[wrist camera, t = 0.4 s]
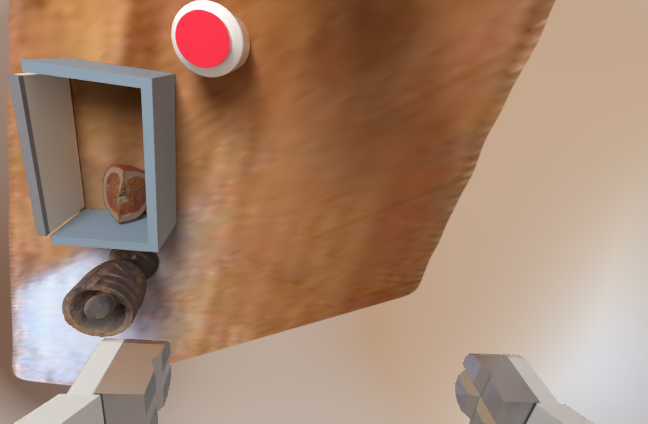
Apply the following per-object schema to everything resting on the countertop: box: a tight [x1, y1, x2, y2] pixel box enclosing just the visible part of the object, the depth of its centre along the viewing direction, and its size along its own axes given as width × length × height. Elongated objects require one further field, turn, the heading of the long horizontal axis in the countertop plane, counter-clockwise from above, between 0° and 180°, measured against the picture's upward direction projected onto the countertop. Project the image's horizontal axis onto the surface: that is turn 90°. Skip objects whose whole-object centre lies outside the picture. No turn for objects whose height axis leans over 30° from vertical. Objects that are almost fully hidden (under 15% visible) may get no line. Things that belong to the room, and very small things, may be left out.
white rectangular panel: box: [8, 73, 85, 236], centre depth 46 cm, size 19×1×10 cm, turn 171°
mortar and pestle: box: [62, 249, 158, 337], centre depth 49 cm, size 12×9×20 cm
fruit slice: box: [103, 165, 147, 224], centre depth 52 cm, size 8×7×5 cm
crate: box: [21, 58, 177, 252], centre depth 48 cm, size 22×13×9 cm, turn 171°
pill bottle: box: [171, 0, 250, 77], centre depth 42 cm, size 8×8×11 cm
